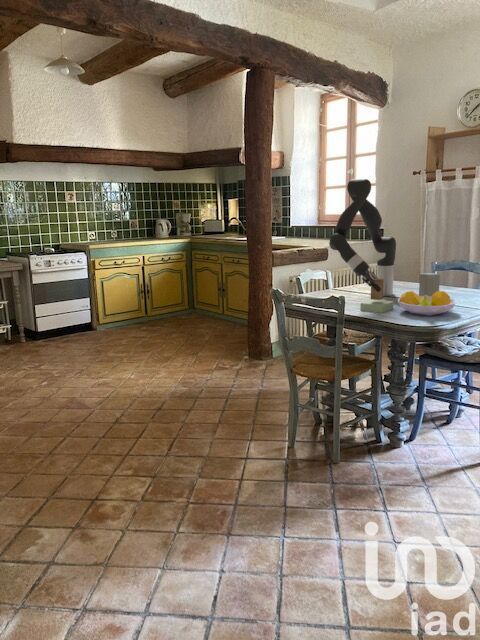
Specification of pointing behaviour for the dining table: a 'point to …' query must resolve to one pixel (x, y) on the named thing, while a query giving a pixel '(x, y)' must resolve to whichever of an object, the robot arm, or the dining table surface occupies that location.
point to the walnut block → (374, 293)
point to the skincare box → (428, 284)
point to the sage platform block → (376, 305)
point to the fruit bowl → (426, 303)
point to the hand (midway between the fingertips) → (380, 289)
